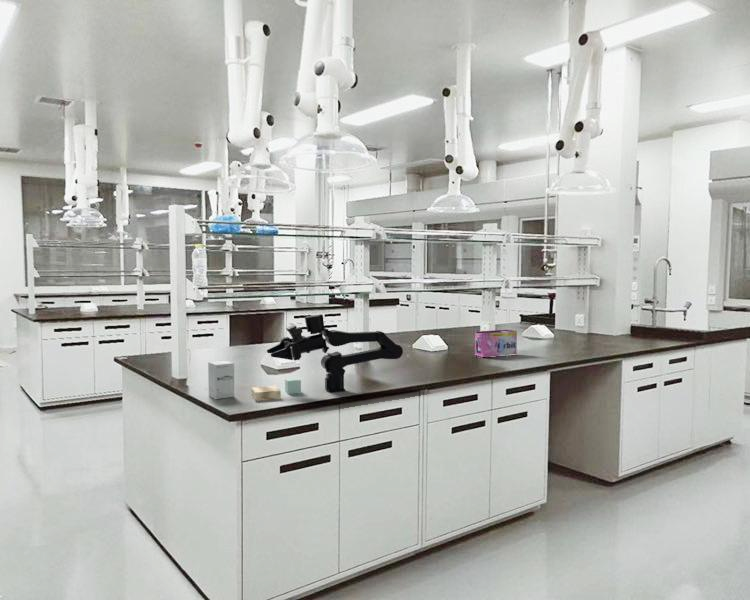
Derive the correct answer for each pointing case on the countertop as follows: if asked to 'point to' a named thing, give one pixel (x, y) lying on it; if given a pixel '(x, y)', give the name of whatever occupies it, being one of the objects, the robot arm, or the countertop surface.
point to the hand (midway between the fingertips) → (269, 353)
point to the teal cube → (292, 385)
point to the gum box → (495, 343)
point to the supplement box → (221, 379)
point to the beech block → (266, 393)
